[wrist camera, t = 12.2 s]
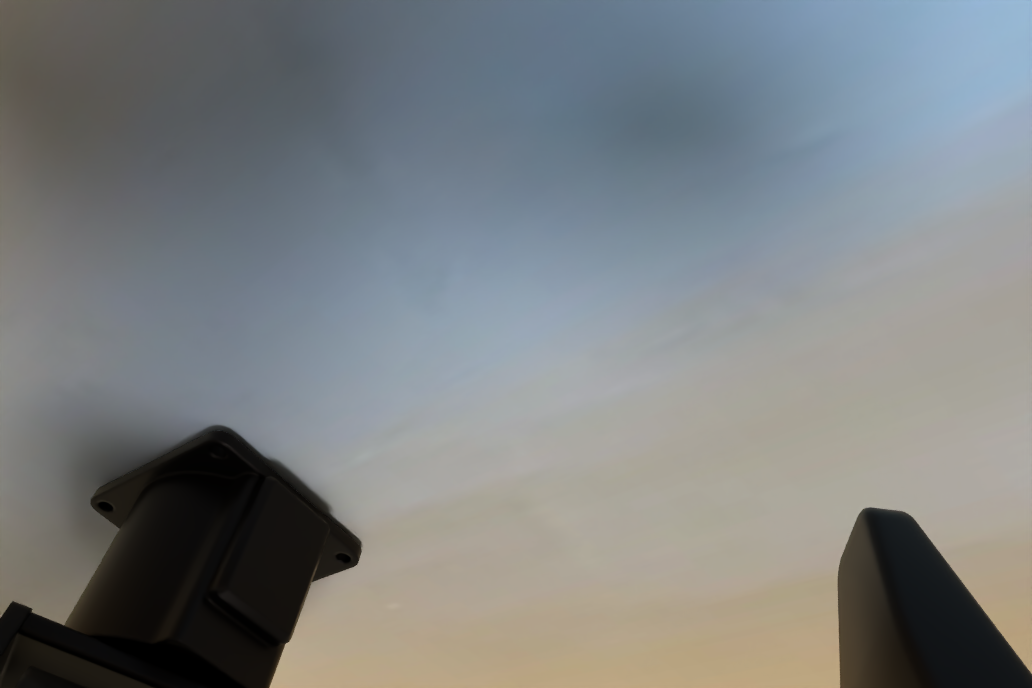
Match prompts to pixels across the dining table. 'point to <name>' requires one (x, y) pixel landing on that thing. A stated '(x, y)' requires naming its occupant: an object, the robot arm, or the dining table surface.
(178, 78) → the dining table surface
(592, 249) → the dining table surface
